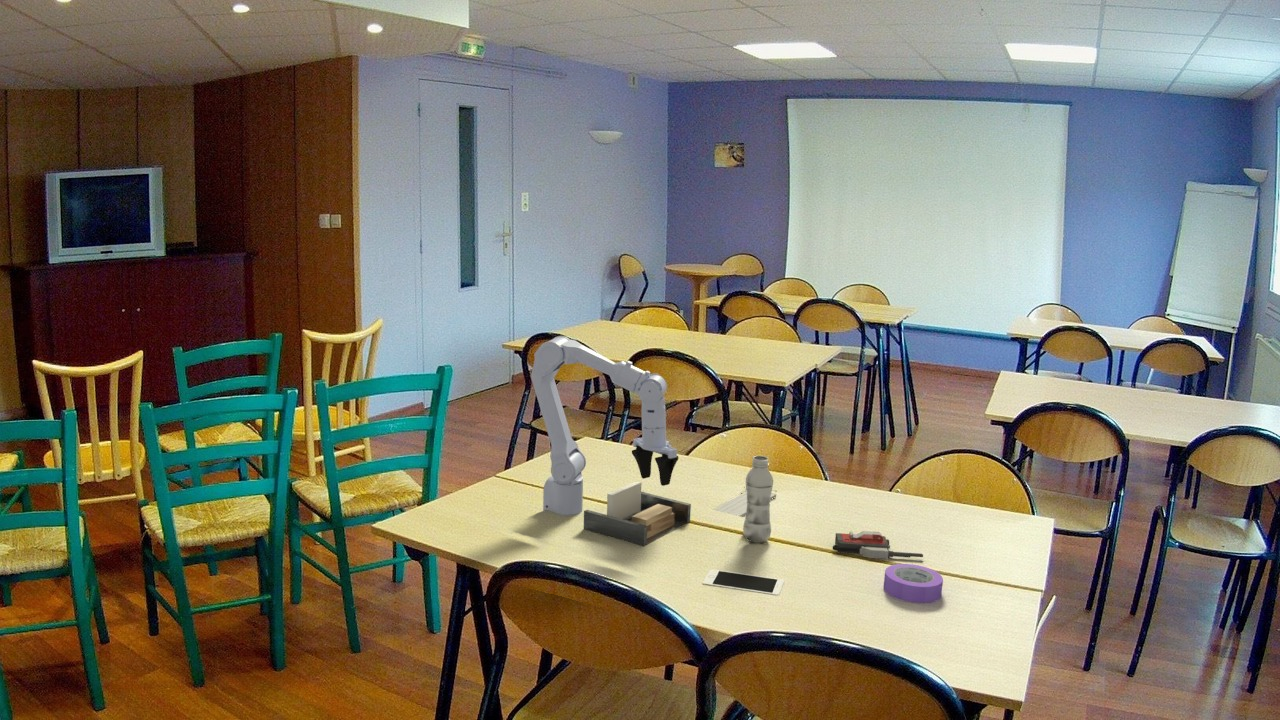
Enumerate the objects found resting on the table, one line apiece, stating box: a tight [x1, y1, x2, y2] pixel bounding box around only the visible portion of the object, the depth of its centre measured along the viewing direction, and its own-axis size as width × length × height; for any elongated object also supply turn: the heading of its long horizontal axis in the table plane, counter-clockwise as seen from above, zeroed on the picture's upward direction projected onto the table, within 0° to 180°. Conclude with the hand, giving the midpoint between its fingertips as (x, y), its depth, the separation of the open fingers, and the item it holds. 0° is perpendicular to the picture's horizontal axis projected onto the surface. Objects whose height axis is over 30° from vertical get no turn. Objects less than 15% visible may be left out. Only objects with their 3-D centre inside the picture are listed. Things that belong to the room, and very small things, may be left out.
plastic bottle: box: [742, 455, 774, 543], centre depth 229 cm, size 6×7×20 cm
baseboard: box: [712, 486, 777, 518], centre depth 252 cm, size 30×3×10 cm
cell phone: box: [702, 568, 785, 596], centre depth 207 cm, size 8×16×1 cm, turn 74°
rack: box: [583, 491, 692, 547], centre depth 234 cm, size 17×20×6 cm
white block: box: [606, 480, 642, 519], centre depth 236 cm, size 2×12×8 cm, turn 146°
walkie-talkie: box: [832, 530, 924, 560], centre depth 226 cm, size 9×4×20 cm
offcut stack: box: [632, 504, 674, 538], centre depth 232 cm, size 4×12×4 cm, turn 146°
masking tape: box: [883, 563, 944, 604], centre depth 205 cm, size 12×12×4 cm
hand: (655, 481), depth 237 cm, fingers open, 7 cm apart
